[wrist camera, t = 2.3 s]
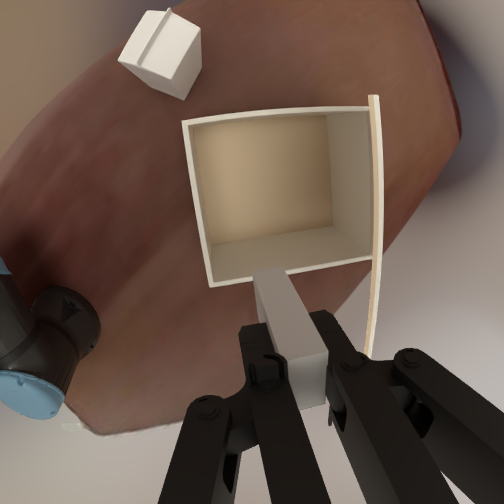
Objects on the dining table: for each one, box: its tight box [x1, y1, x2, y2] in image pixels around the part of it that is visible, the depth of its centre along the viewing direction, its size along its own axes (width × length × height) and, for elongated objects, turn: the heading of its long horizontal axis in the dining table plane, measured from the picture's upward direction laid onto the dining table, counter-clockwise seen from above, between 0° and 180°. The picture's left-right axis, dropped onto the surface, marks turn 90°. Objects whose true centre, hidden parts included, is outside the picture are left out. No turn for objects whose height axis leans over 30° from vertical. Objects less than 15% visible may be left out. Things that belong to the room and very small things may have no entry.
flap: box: [364, 95, 384, 359], centre depth 27 cm, size 21×19×1 cm
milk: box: [118, 8, 202, 100], centre depth 30 cm, size 6×6×22 cm
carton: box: [182, 106, 374, 288], centre depth 42 cm, size 22×20×14 cm
